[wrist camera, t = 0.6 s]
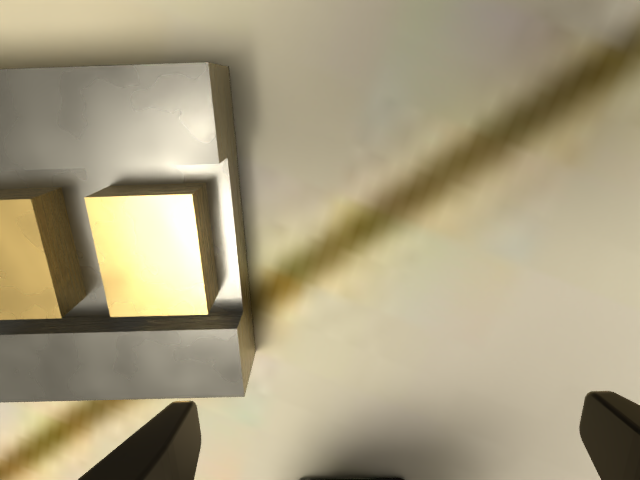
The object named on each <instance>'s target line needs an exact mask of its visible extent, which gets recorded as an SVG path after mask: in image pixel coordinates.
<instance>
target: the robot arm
mask: <svg viewBox="0 0 640 480" xmlns="http://www.w3.org/2000/svg"><path fill="white" fill-rule="evenodd" d="M580 435H581V439H582V441H583V443H584V445H585V447H586V449H587V451H588V453H589V456H590V458H591V460H592V462H593V464H594V466H595V468H596V470H597V472H598V474H599V476H600V478H601V480H640V405H638V404H636V403H634V402H632V401H630V400H628V399H626V398H624V397H622V396H620V395H618V394H616V393H614V392H611V391H592V392H589V393H588V394H587V395H586V397H585V401H584V406H583V411H582V416H581V421H580ZM200 447H201V431H200V424H199V418H198V411H197V406H196V404H195V403H194V402H193V401H175V402H172V403H171V404H170V405H168V406H167V407H166V408H165V409H163V410H162V411H161V412H160V413H159V414H157V415H156V416H155V417H154V418H152V419H151V420H150V421H149V422H148V423H146V424H145V425H144V426H143V427H141V428H140V429H139V430H138V431H137V432H135V433H134V434H133V435H132V436H130V437H129V438H128V439H127V440H126V441H124V442H123V443H122V444H121V445H119V446H118V447H117V448H116V449H115V450H113V451H112V452H111V453H110V454H108V455H107V456H106V457H105V458H104V459H102V460H101V461H100V462H99V463H97V464H96V465H95V466H94V467H93V468H91V469H90V470H89V471H88V472H86V473H85V474H84V475H83V476H82V477H80V478H79V479H78V480H194V476H195V472H196V467H197V462H198V457H199V453H200ZM325 480H404V479H402V478H373V479H325Z"/></svg>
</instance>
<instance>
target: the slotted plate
mask: <svg viewBox="0 0 640 480" xmlns="http://www.w3.org/2000/svg"><path fill="white" fill-rule="evenodd" d="M187 183H206V189H207V197H208V206H209V214H210V222H211V231H212V239H213V247H214V255H215V264H216V272H217V280H218V288H219V293H218V295H217V297H216V299H215V301H214V303H213V305H212V307H211V309H210V311H209V313H208V314H207V315H169V316H131V317H110V313H109V309H108V304H107V300H106V295H105V290H104V286H103V281H102V277H101V272H100V267H99V263H98V258H97V254H96V249H95V245H94V240H93V235H92V231H91V226H90V222H89V217H88V212H87V208H86V203H85V199H84V197H86V196H89V195H91V194H93V193H95V192H97V191H99V190H101V189H104V188H106V187H108V186H121V185H154V184H187ZM56 187H61V188H62V192H63V197H64V201H65V205H66V210H67V214H68V218H69V222H70V227H71V231H72V235H73V239H74V244H75V248H76V252H77V257H78V261H79V265H80V269H81V274H82V278H83V282H84V286H85V291H86V295H87V296H86V297H85V298H84V299H83V300H82V301H81V302H79V303H78V304H77V305H76V306H75V307H74V308H73V309H72V310H70V311H69V312H68V313H67V314H66V315H65V316H64V317H63V318H55V319H17V320H0V402H38V401H80V400H122V399H165V398H207V397H245V393H246V388H247V384H248V380H249V376H250V372H251V368H252V364H253V360H254V356H255V352H256V351H255V340H254V330H253V319H252V308H251V298H250V287H249V277H248V266H247V255H246V245H245V234H244V224H243V213H242V203H241V192H240V181H239V171H238V160H237V150H236V139H235V128H234V118H233V107H232V97H231V86H230V75H229V67H228V66H223V65H219V64H214V63H210V62H198V63H169V64H140V65H110V66H81V67H52V68H23V69H0V189H23V188H56Z"/></svg>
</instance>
